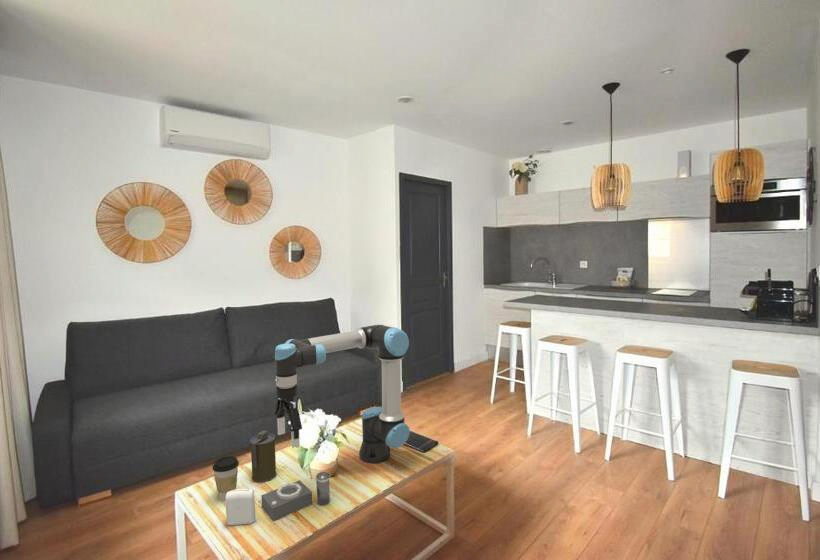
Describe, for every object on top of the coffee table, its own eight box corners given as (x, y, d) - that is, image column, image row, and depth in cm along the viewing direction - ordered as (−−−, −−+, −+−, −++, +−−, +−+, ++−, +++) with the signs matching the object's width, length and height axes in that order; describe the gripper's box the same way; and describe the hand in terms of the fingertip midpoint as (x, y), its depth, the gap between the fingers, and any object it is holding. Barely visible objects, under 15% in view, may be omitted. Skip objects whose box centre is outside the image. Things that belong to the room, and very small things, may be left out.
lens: (326, 496, 170) (325, 470, 170) (332, 502, 166) (331, 475, 166) (314, 501, 167) (313, 474, 166) (320, 507, 163) (320, 480, 162)
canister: (262, 468, 193) (260, 426, 191) (281, 472, 189) (279, 429, 188) (245, 481, 182) (243, 436, 181) (265, 485, 179) (263, 439, 177)
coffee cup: (245, 494, 172) (243, 459, 171) (223, 506, 164) (221, 470, 163) (231, 487, 178) (229, 452, 177) (209, 498, 170) (207, 462, 169)
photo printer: (224, 526, 152) (223, 494, 152) (228, 519, 157) (227, 487, 156) (254, 524, 153) (252, 492, 153) (257, 517, 158) (255, 485, 157)
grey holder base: (300, 491, 174) (299, 477, 173) (312, 504, 165) (312, 489, 165) (261, 507, 164) (261, 492, 163) (272, 521, 155) (272, 505, 155)
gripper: (265, 379, 165) (266, 431, 167) (290, 396, 146) (292, 455, 148) (283, 375, 170) (285, 426, 172) (310, 392, 151) (312, 449, 152)
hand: (288, 440), depth 160 cm, fingers open, 13 cm apart
